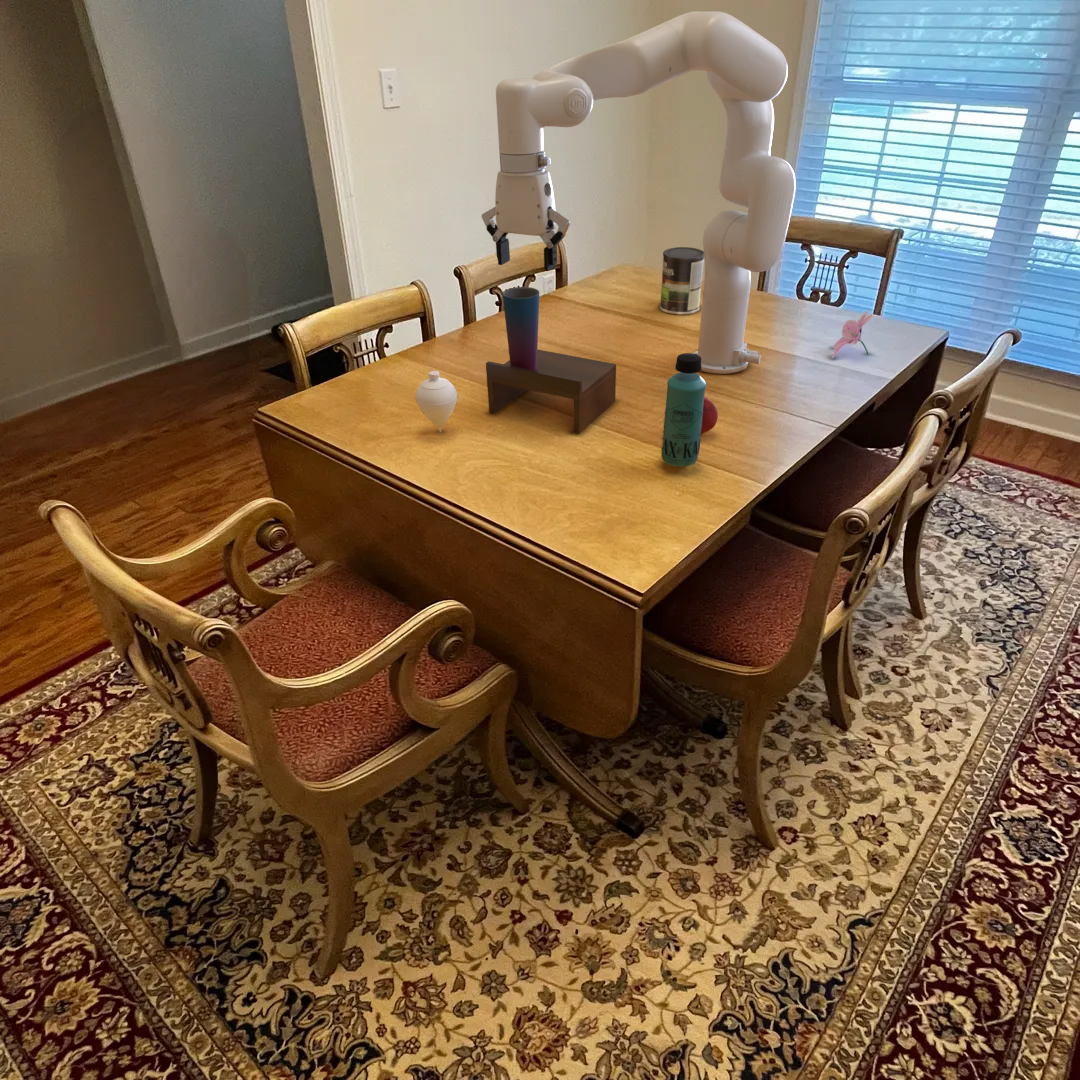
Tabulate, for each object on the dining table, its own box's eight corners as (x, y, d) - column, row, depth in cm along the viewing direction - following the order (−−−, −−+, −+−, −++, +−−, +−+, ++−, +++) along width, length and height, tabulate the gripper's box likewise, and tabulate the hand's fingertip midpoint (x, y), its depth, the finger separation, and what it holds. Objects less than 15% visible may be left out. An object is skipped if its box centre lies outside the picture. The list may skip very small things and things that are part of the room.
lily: (845, 344, 185) (831, 309, 180) (896, 335, 176) (883, 298, 172) (827, 376, 180) (812, 341, 175) (878, 368, 171) (864, 331, 166)
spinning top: (443, 444, 147) (437, 384, 140) (411, 435, 150) (403, 375, 143) (468, 428, 152) (463, 369, 145) (436, 419, 155) (430, 361, 148)
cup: (537, 377, 151) (535, 299, 142) (502, 375, 152) (498, 297, 144) (544, 363, 156) (542, 287, 148) (510, 362, 158) (507, 286, 149)
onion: (717, 429, 149) (722, 389, 144) (712, 443, 145) (717, 402, 140) (686, 425, 151) (690, 386, 146) (681, 438, 146) (684, 398, 142)
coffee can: (668, 316, 201) (672, 259, 193) (654, 304, 209) (657, 249, 201) (706, 312, 203) (711, 255, 195) (690, 300, 211) (695, 245, 203)
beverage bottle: (656, 458, 140) (663, 349, 129) (693, 455, 141) (703, 347, 129) (664, 476, 135) (672, 365, 124) (702, 474, 135) (714, 362, 124)
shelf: (529, 383, 168) (527, 335, 162) (615, 401, 160) (616, 351, 154) (489, 413, 157) (485, 362, 151) (579, 434, 149) (579, 381, 143)
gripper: (577, 161, 133) (578, 265, 143) (490, 156, 141) (497, 255, 150) (556, 170, 128) (559, 277, 138) (467, 164, 135) (475, 266, 145)
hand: (526, 265), depth 144 cm, fingers open, 9 cm apart
